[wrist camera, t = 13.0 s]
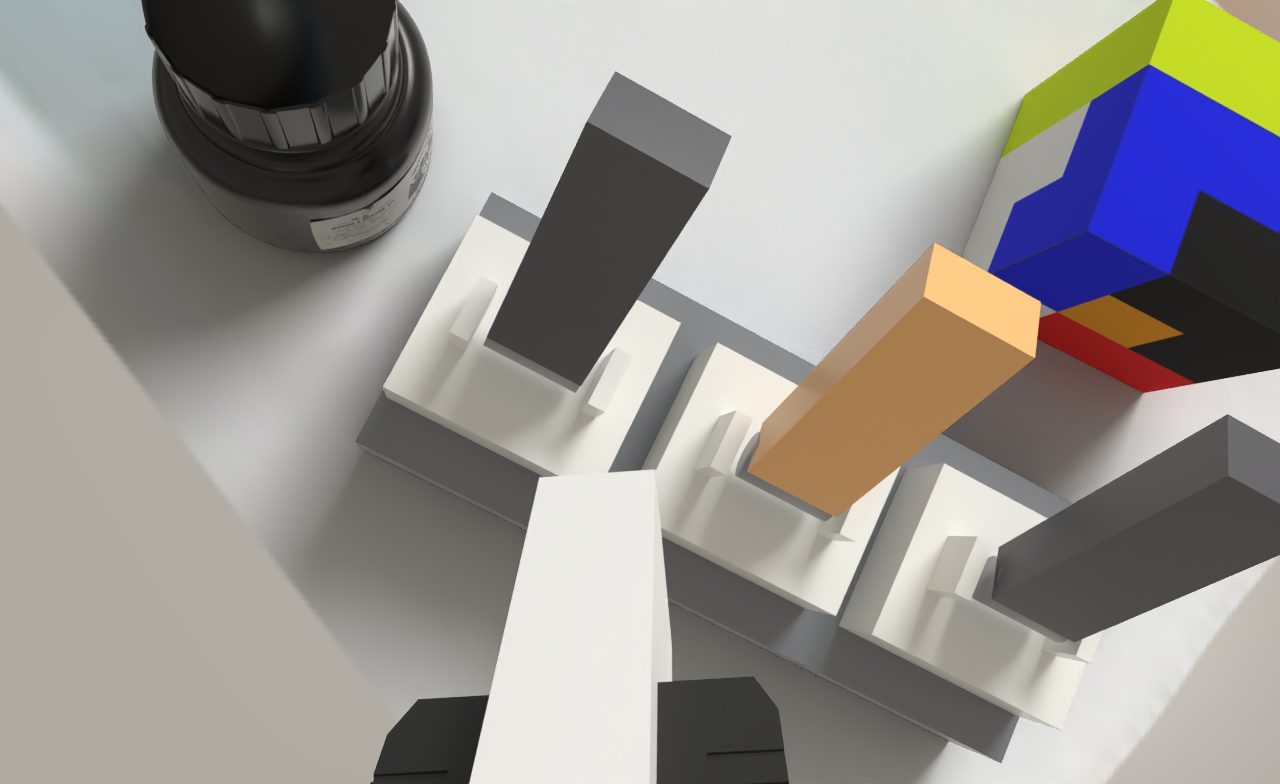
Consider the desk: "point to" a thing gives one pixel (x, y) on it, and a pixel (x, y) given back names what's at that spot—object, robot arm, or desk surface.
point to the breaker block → (734, 412)
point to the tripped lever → (893, 384)
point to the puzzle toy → (1148, 201)
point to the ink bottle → (296, 112)
